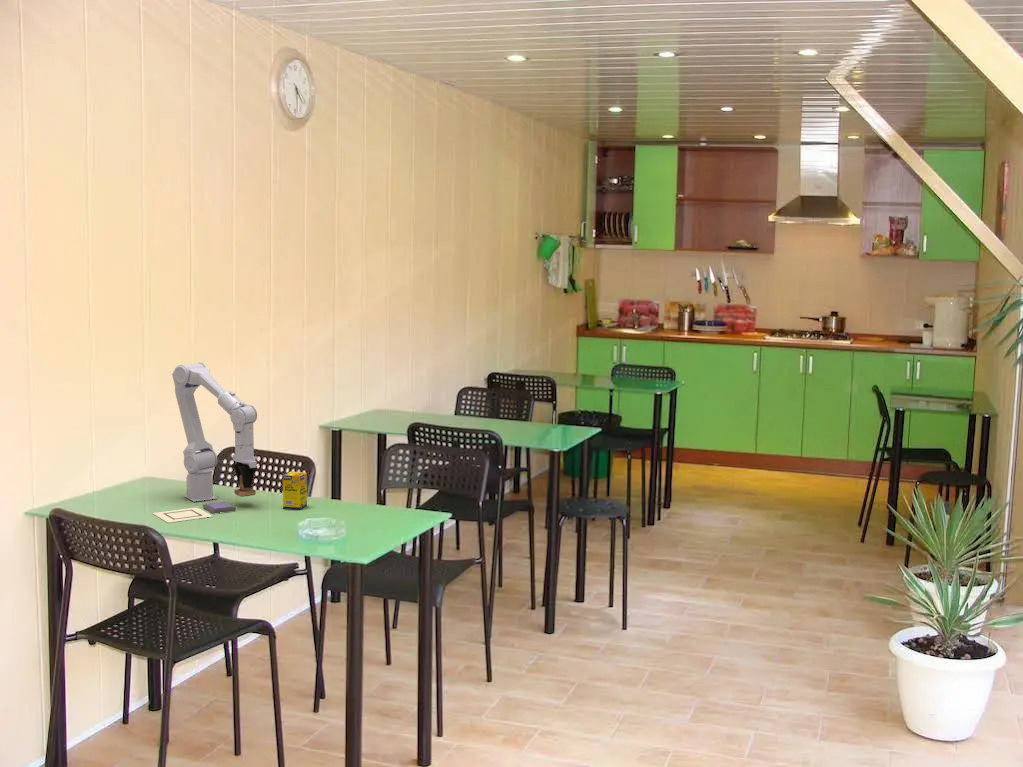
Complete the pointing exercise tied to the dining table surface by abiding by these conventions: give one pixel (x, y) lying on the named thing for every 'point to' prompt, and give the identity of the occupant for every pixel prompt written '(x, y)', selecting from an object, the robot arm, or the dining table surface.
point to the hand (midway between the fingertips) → (244, 486)
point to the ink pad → (219, 507)
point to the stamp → (244, 490)
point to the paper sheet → (182, 515)
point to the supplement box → (295, 490)
